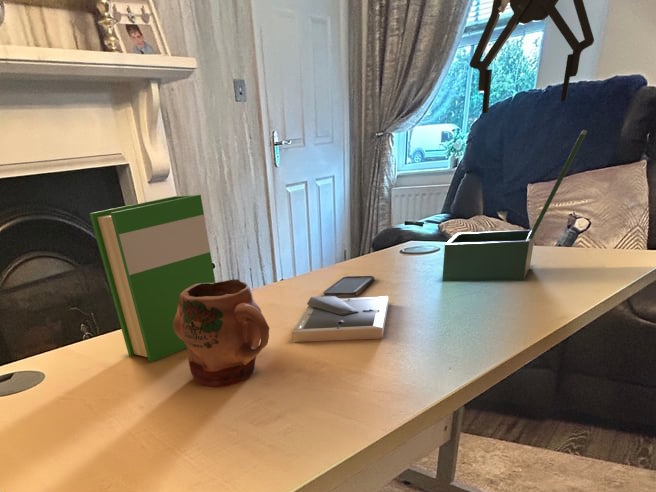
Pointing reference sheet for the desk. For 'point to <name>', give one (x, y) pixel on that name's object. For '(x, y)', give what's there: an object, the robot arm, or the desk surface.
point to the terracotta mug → (221, 331)
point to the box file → (488, 256)
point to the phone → (349, 286)
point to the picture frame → (342, 319)
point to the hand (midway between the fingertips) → (523, 107)
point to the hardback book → (153, 267)
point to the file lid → (558, 183)
